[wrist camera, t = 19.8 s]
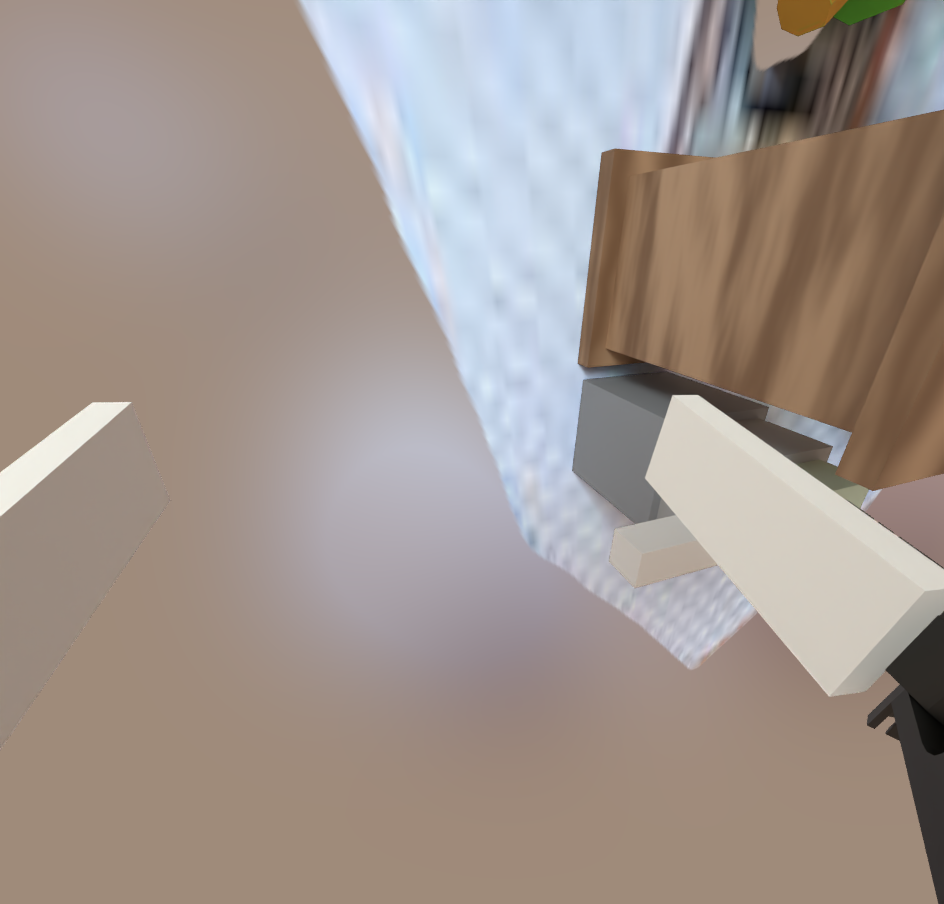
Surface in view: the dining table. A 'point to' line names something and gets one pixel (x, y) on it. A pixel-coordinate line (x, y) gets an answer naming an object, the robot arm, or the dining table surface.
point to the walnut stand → (787, 282)
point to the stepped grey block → (657, 435)
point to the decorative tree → (827, 12)
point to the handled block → (692, 537)
